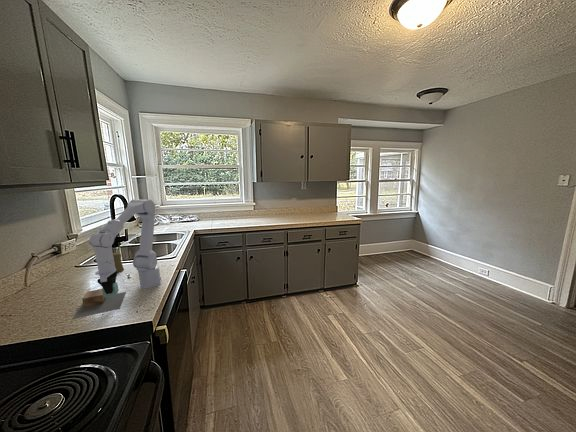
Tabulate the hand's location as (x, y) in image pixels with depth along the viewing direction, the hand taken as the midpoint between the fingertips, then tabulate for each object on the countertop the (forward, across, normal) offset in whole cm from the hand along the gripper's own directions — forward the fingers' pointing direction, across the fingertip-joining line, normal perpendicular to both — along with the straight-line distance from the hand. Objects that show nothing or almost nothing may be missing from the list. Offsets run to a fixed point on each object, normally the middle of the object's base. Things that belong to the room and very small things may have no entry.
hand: (110, 290), depth 103 cm
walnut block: (+7, -8, -8) cm, 13 cm away
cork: (+8, -44, -6) cm, 45 cm away
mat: (+8, -4, -5) cm, 10 cm away
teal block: (+2, 0, 0) cm, 2 cm away
